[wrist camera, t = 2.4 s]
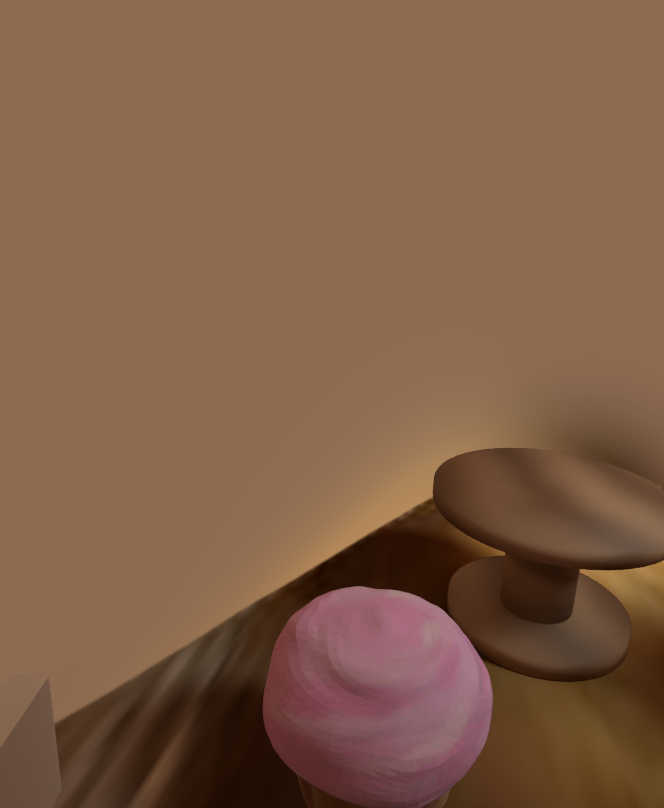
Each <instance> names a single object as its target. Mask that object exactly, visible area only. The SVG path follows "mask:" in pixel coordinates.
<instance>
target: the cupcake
mask: <svg viewBox="0 0 664 808" xmlns="http://www.w3.org/2000/svg"><path fill="white" fill-rule="evenodd" d="M492 700H493V695H492V687H491V682H490V677H489V674H488V671H487V668H486V666H485V665H484V663H483V661H482V660H481V658H480V656H479V655H478V653H477V652H476V650H475V649H474V647H473V645H472V643H471V642H470V640H469V639H468V638H467V636H466V635H465V634H464V633H463V632H462V631H461V629H460V628H459V626H458V625H457V624H456V623H455V622H454V621H453V620H452V619H451V618H450V617H449V616H448V615H447V614H446V613H445V611H443V610H442V609H441V608H439V607H438V606H436V605H433V604H431V603H429V602H428V601H426V600H424V599H422V598H420V597H418V596H416V595H413V594H410V593H406V592H402V591H397V590H386V589H373V588H368V587H363V586H356V587H349V588H342V589H338V590H334V591H331V592H328V593H325V594H323V595H321V596H319V597H317V598H315V599H314V600H312V601H311V602H310V603H308V604H307V605H306V606H304V607H303V608H301V609H300V610H299V611H297V612H296V613H295V614H294V615H292V616H291V618H290V619H289V620H288V622H287V624H286V626H285V628H284V629H283V631H282V632H281V634H280V635H279V637H278V639H277V641H276V644H275V646H274V649H273V653H272V657H271V662H270V668H269V672H268V677H267V681H266V685H265V689H264V697H263V719H264V725H265V729H266V732H267V734H268V736H269V739H270V741H271V743H272V746H273V748H274V750H275V751H276V753H277V754H278V755H279V757H280V758H281V759H282V760H283V762H284V763H285V764H286V765H287V766H288V767H289V768H290V769H292V770H293V771H294V772H295V773H296V774H297V777H298V781H299V785H300V788H301V792H302V795H303V798H304V801H305V804H306V806H307V808H443V807H444V805H445V803H446V801H447V798H448V795H449V791H450V789H451V788H452V787H453V786H454V785H455V784H456V783H457V782H458V781H459V780H460V779H461V778H462V777H463V776H464V775H465V774H466V773H467V772H468V770H469V769H470V767H471V766H472V764H473V763H474V762H475V760H476V759H477V757H478V756H479V754H480V753H481V751H482V749H483V747H484V744H485V742H486V739H487V736H488V732H489V727H490V721H491V713H492Z"/></svg>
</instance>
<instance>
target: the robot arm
mask: <svg viewBox="0 0 664 808" xmlns="http://www.w3.org/2000/svg"><path fill="white" fill-rule="evenodd" d="M61 790H62V788H61V779H60V770H59V762H58V753H57V745H56V736H55V728H54V719H53V710H52V702H51V693H50V685H49V677H44V676H24V675H8V676H7V677H6V679H5V680H4V681H3V683H2V684H1V685H0V808H52V807H53V805H54V803H55V801H56V799H57V798H58V796H59V794H60V792H61Z"/></svg>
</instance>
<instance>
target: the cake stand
mask: <svg viewBox="0 0 664 808" xmlns="http://www.w3.org/2000/svg"><path fill="white" fill-rule="evenodd" d="M433 500H434V503H435V505H436V507H437V509H438V510H439V512H440V513H441V514H442V515H443V516H444V518H445V519H446V520H447V521H449V522H450V523H451V524H452V525H453V526H455V527H456V528H457V529H459V530H460V531H462V532H463V533H465V534H466V535H468V536H470V537H472V538H474V539H476V540H477V541H479V542H481V543H484V544H486V545H488V546H490V547H493V548H495V549H497V550H500V551H503V552H505V556H493V557H486V558H482V559H478V560H475V561H472V562H470V563H468V564H466V565H464V566H463V567H461V568H460V569H459V570H457V571H456V572H455V574H454V575H453V576H452V578H451V580H450V583H449V588H448V597H447V613H448V616H449V617H450V618H451V619H452V620H453V621H454V622H455V623H456V624H457V625H458V626H459V628H460V629H461V631H462V632H463V633H464V634H465V635H466V636H467V638H468V639H469V640H470V642H471V643H472V645H473V647H474V649H475V650H476V651H477V652H478V653H480V654H481V655H482V656H484V657H486V658H487V659H489V660H491V661H493V662H494V663H496V664H499V665H501V666H503V667H505V668H507V669H510V670H513V671H515V672H518V673H521V674H524V675H528V676H531V677H536V678H541V679H546V680H554V681H583V680H589V679H594V678H597V677H600V676H603V675H606V674H608V673H609V672H611V671H613V670H614V669H616V668H617V667H618V666H619V665H620V664H621V663H622V661H623V660H624V658H625V656H626V654H627V650H628V645H629V640H630V635H631V621H630V618H629V615H628V613H627V612H626V610H625V608H624V606H623V605H622V604H621V603H620V601H619V600H618V599H617V598H616V597H615V596H614V595H613V594H612V593H611V592H610V591H608V590H607V589H606V588H605V587H603V586H602V585H601V584H599V583H598V582H596V581H595V580H593V579H591V578H589V577H588V576H586V575H584V574H582V573H580V572H579V571H580V569H587V570H625V569H633V568H640V567H645V566H648V565H652V564H656V563H658V562H661V561H663V560H664V489H662V488H661V487H659V486H658V485H656V484H655V483H653V482H651V481H649V480H647V479H645V478H643V477H641V476H639V475H637V474H635V473H632V472H630V471H627V470H625V469H622V468H619V467H617V466H614V465H611V464H608V463H605V462H601V461H597V460H594V459H590V458H586V457H582V456H578V455H573V454H568V453H562V452H555V451H549V450H539V449H527V448H495V449H485V450H477V451H472V452H468V453H464V454H461V455H458V456H455V457H453V458H451V459H449V460H447V461H446V462H444V463H443V464H442V465H441V466H440V467H439V468H438V469H437V471H436V473H435V476H434V484H433Z"/></svg>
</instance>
